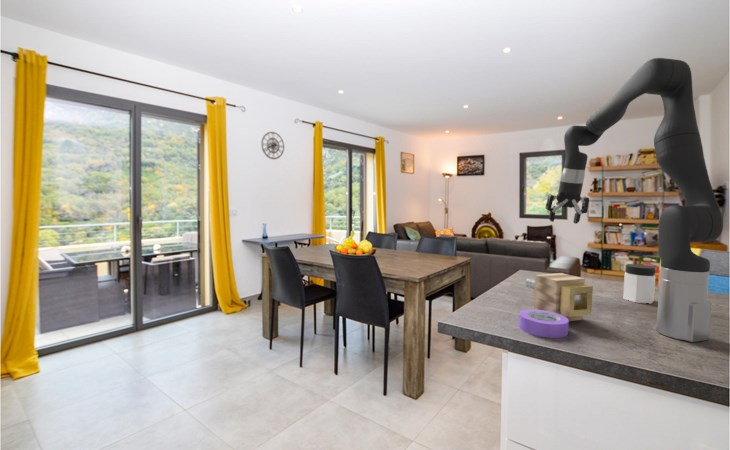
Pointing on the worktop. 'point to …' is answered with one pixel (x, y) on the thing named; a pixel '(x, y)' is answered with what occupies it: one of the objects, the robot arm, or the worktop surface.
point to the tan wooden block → (553, 292)
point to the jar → (639, 283)
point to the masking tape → (543, 323)
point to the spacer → (568, 300)
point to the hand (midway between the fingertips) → (563, 222)
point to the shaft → (531, 284)
